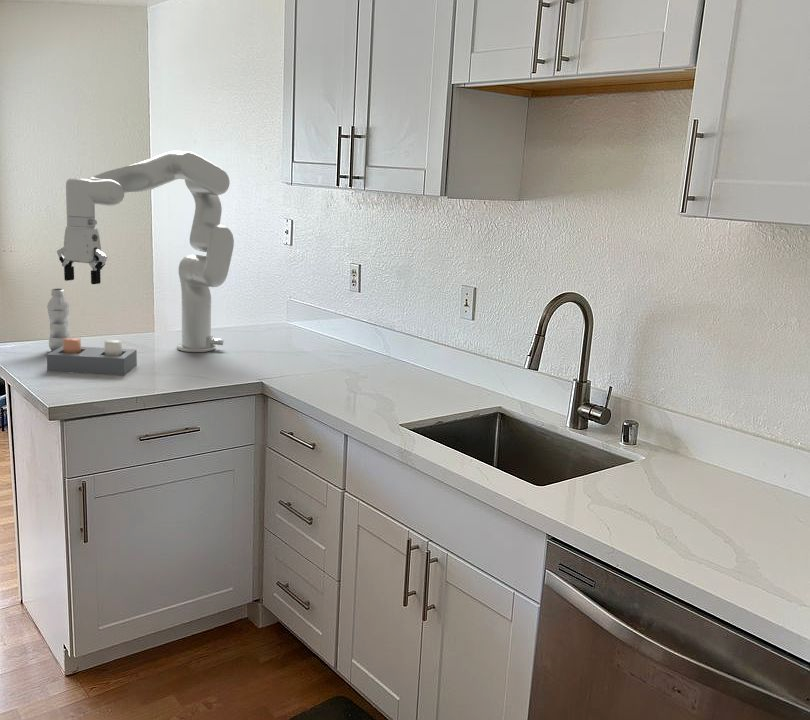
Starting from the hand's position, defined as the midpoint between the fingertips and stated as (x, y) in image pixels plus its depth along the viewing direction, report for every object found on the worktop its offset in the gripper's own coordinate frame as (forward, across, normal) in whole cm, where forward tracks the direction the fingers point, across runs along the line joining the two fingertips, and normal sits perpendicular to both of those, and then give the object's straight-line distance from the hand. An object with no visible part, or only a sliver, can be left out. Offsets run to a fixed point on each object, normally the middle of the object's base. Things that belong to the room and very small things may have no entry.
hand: (82, 282), depth 230 cm
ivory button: (+22, -9, -2) cm, 24 cm away
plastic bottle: (+26, +20, -11) cm, 34 cm away
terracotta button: (+22, +2, +3) cm, 22 cm away
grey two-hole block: (+25, -4, 0) cm, 26 cm away
